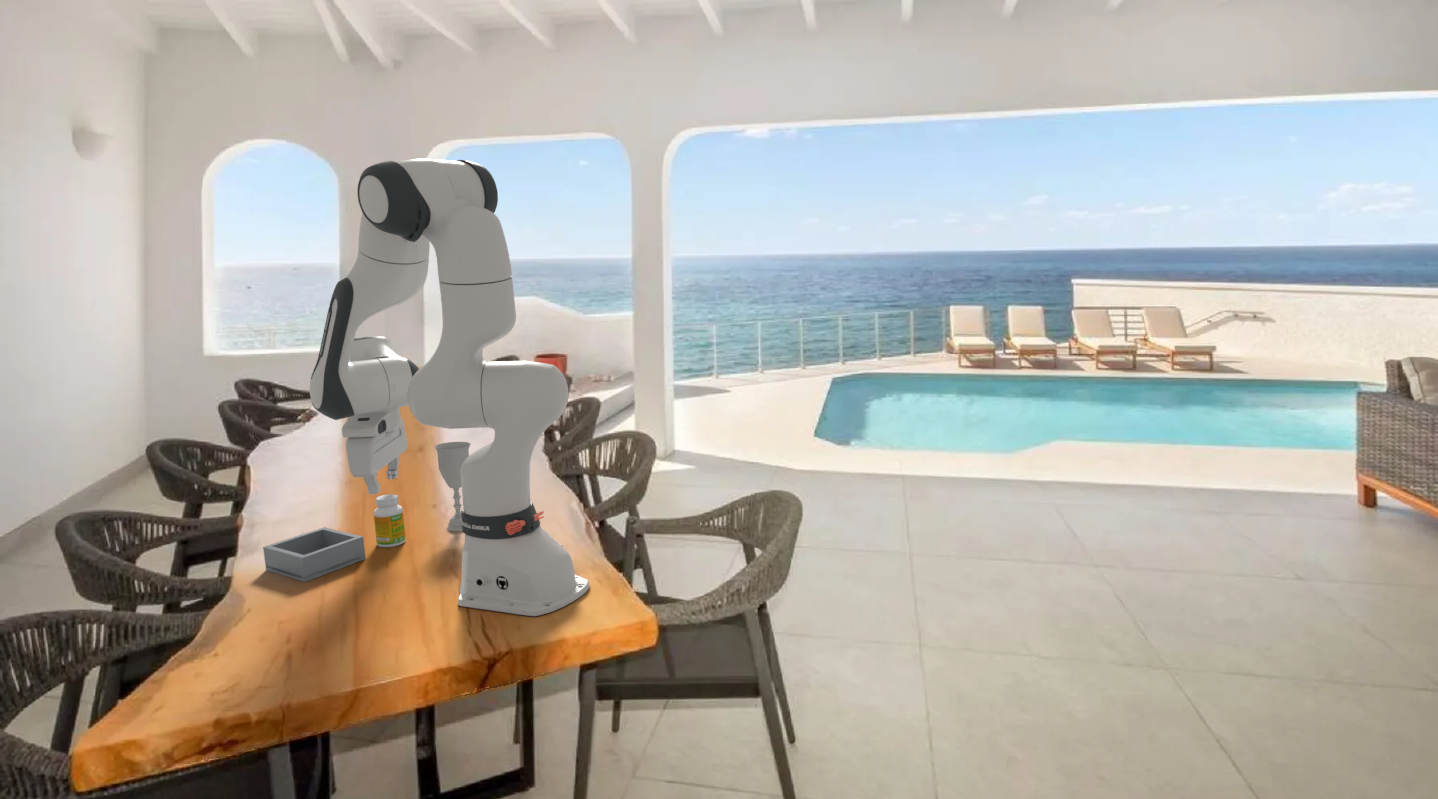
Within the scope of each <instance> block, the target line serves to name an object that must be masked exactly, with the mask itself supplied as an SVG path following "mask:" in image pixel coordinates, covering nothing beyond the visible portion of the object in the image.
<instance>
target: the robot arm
mask: <svg viewBox="0 0 1438 799" xmlns="http://www.w3.org/2000/svg"><path fill="white" fill-rule="evenodd" d="M356 193H357V201H358V204H359V207H360V210H361V212H362V213H361V218H360V225H359V233H358V248H357V249H358V251H357V256H356V259H355V262H354V264H353V266H352V268H351V270H350V271H349V273H348V274H347V275H346V276H345V277H343V278H342V279H341V280H339V281H338V282H337V283H336V285H335V287H334V290H333V292H332V295H331V298H330V301H329V306H328V310H327V315H326V320H325V322H324V323H325V324H324V329H323V334H322V338H321V343H320V347H319V351H318V352H319V353H318V357H317V360H316V362H315V363H316V364H315V366H314V369H313V371H312V373H311V376H310V383H309V396H310V400H311V404H312V406H313V408H314V409H315V410H316V411H317V412H318V413H320V414H321V415H323V416H325V417H327V418H329V419H331V420H333V421H334V420H335V421H338V420H341V419H346V418H347V419H346V420H345V423H344V424H343V425H342V426H341V427H342V428H341V434H342V437H343V438H347V439H346V442H345V450H346V456H347V457H346V458H347V462H348V463H347V464H348V468H349V472H350V474H351V475H352V477H353V478H363V481H364V483H365V484H366V486H367V492H368V494H369V495H378V494H379V493H380V492H381V489H382V488H381V483H380V482H378V479H377V477H378V472H379V471H380V470H382V469H383V468H384V467H386V466H387V470H386V478H387V480H395V479H397V478H398V477H399V470H398V469H399V466H400V465H399V464H400V455H401V454H403V453H404V452H406V451H407V448H408V440H407V432H406V428H405V424H404V420H403V418H402V417H401V416H402V415H401V409H400V408H403V407H404V408H405V407H407V406H408V407H409V411H410V412H411V414H412V415H413V417H414V418H415V419H416V420H417V421H418V422H419V423H420V424H422V425H424V426H430V427H435V428H442V429H448V430H449V429H450V430H454V429H456V430H457V429H479V428H481V429H482V428H485V429H486V428H490V429H493V430H494V439H493V441H492V442H490V443H489V444H487V445H484V446H482V447H480V448H479V449H477V450H476V451H474V452H473V453H470V454H469V456H468V457H467V458H466V460H465V461H464V463H463V465H462V467H461V472H460V473H461V486H462V487H461V493H462V494H461V497H462V509H461V510H460V512H461V524H462V531H461V532H462V533H463V534H464V541H463V542H464V544H463V549H462V556H461V579H460V580H461V581H460V582H461V583H460V586H459V596H458V598H457V605H458V606H460V607H466V608H470V609H471V608H472V609H479V610H486V611H492V612H501V613H506V614H507V613H508V614H513V615H522V616H526V617H527V616H529V617H536V616H537V617H538V616H542V615H545V614H549V613H553V612H555V611H557V610H559V609H562V608H564V607H566V606H567V605H569V604H571V603H573V602H575V601H576V600H578V599H579V598H581V597H582V596H584V594H585V593H587V591H588V590H589V588H590V582H589V579H587V578H585V577H582V576H580V575H578V574H575V568H574V562H573V559H572V556H571V554H570V552H568V551H567V550H566V549H565V548H564V546H563V545H562V544H561V543H559V542H558V541H556V540H555V539H554V538H553V537H552V536H551V535H550V534H549V533H548V532H547V531H546V530H545V529H544V528H543V527H542V526H541V519H543V518H545V516H544V515H543V514H544V512H545V511H544V510H542V511H539V512H537V510H536V508H535V506H534V503H533V502H532V501H531V483H530V482H531V462H532V456H533V452H534V450H535V447H536V445H537V443H538V441H539V439H540V437H541V436H542V435H543V433H545V431H546V430H547V429H548V428H549V427H550V426H551V425H552V424H554V423H555V422H556V421H557V420H558V419H560V417H561V416H562V415H563V414H564V412H565V410H566V408H567V404H568V401H569V395H570V394H569V387H568V386H569V385H568V382H567V380H566V377H565V376H564V374H563V372H562V371H561V370H560V368H558V367H557V366H556V365H555V364H552V363H545V362H538V361H534V360H506V361H505V360H504V361H503V360H499V361H488V360H484V357H483V354H484V353H483V352H484V351H483V350H484V348H486V347H488V346H489V345H492V344H494V343H496V342H498V341H499V340H501V339H503V338H504V337H505V336H507V335H508V334H509V333H511V331H512V330H513V329H514V326H515V324H516V322H517V312H516V303H515V293H514V292H515V291H514V283H513V273H512V265H511V258H510V254H509V249H508V248H509V247H508V245H507V240H506V237H505V233H504V229H503V227H502V226H503V225H502V223H501V221H500V219H499V217H498V216H497V215H496V214H495V212H496V211H497V210H496V209H497V207H498V202H499V201H498V200H499V195H498V188H497V184H496V181H495V179H494V177H493V175H492V174H491V172H490V171H489V170H488V169H487V168H486V167H485V166H484V165H481V164H479V163H477V162H473V161H469V160H464V159H457V160H447V159H431V158H426V157H425V158H413V159H412V158H411V159H403V160H398V161H393V160H384V161H383V162H382V161H381V162H378V163H374V164H372V165H370V166H368V167H367V168H365V169H364V170H363V171H362V173H361V175H360V177H359V181H358V184H357V192H356ZM430 244H431V245H432V247H433V248H434V251H435V257H436V263H437V276H438V285H439V291H440V300H441V301H440V302H441V318H442V319H441V320H442V328H441V334H440V335H441V336H440V340H439V343H438V345H437V347H436V349H435V352H434V353H433V355H432V356H431V357H430V359H429V360H428V361H427V362H426V363H425V364H423V366H421V367H420V368H419V367H418V365H416V364H415V363H414V362H413V361H412V360H410V359H409V358H407V357H404V356H403V357H402V356H400V355H399V354H397V353H396V352H395V351H394V349H393V346H392V343H391V340H390V339H389V338H388V337H386V336H383V335H374V336H373V335H372V336H363V337H356V333H357V331H358V329H359V327H360V326H361V325H362V324H363V323H364V322H365V321H367V320H368V319H370V318H372V317H373V316H375V315H376V314H379V313H381V312H383V311H385V310H388V309H391V308H393V307H396V306H398V305H401V304H404V303H406V302H408V301H409V300H411V299H412V298H413V297H415V296H416V295H417V294H418V293H420V291H421V290H422V289H423V287H424V286H425V284H426V280H427V277H428V272H429V262H430ZM542 515H543V516H542Z"/></svg>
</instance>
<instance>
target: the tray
mask: <svg viewBox="0 0 1438 799" xmlns="http://www.w3.org/2000/svg"><path fill="white" fill-rule="evenodd" d="M262 550H263V557H264V563H265V570H266V571H268V572H272V573H275V574H277V575H281V576H284V577H288V578H292V579H295V580H298V581H300V582H304V583H306V582H309V581H311V580H314V579H316V578H320V577H322V576H325V575H327V574H330V573H332V572H335V571H338V570H340V569H343V568H345V567H348V565H349V566H351V565H354V564H357V563H358V561H359V562H362V561H364V560H366V551H365V550H366V548H365V542H364V536H362V535H358V534H354V533H349V532H345V531H342V530H338V529H334V528H333V529H332V528H330V527H320V528H318V529H314V530H312V531H308V532H306V533H302V534H299V535H295V536H293V537H289V538H287V539H284V540H281V541H278V542H274V543H271V544H268V545H265V546H263V547H262ZM356 562H357V563H356Z"/></svg>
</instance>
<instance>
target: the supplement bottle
mask: <svg viewBox="0 0 1438 799" xmlns="http://www.w3.org/2000/svg"><path fill="white" fill-rule="evenodd" d="M375 503H376V506H378V507H376V508H375V509H373V510H374V511H373V519H374V529H375V540H376V545H377V546H378V547H380V548H393V547H398V546H400V545H401V546H402V544H405V542H406V529H405V518H404V510H403V507H402V506H401V505H400V504H399V497H398V495H397V494H393V493H391V494H389V493H388V494H383V495H379V496H377V497H376V498H375Z"/></svg>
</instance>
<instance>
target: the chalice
mask: <svg viewBox="0 0 1438 799" xmlns="http://www.w3.org/2000/svg"><path fill="white" fill-rule="evenodd" d="M470 446H471V443H470V442H468V441H450V442H443V443H439V444H436V445H435V446H434V449H435V450H436V452H437V461H438V462H437V463H438V470H439V472H440V474H441V477H442V479H443V480H444V481H445V483H446V485H447V486H448V487H449V488H450V489H452V490H453V497H452V498H453V500H454V503H453V508H454V509H455V510H454V511H455V513H454V515H453V516H451V518H450V519H449V522H448V523H447V525H448V526H447V528H446V530H447V531H449V532H463V531H462V524H461V507H463V504H462V503H461V502H460V499H461V497H462V495H460V492H459V490H460V488H462V486H461V473H460V472H461V467H462V465H463V463H464V461H465V460H466V458H467V457H468V456H470V453H469V452H470V450H469V448H470Z"/></svg>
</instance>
